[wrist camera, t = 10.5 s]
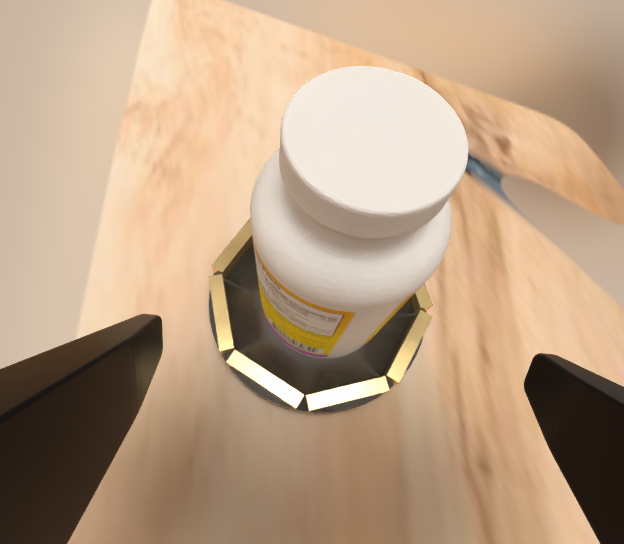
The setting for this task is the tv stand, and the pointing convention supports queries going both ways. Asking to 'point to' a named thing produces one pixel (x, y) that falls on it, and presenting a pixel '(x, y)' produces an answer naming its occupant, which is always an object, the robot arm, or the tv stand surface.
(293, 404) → the carrier plate
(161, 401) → the tv stand surface
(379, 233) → the supplement bottle
